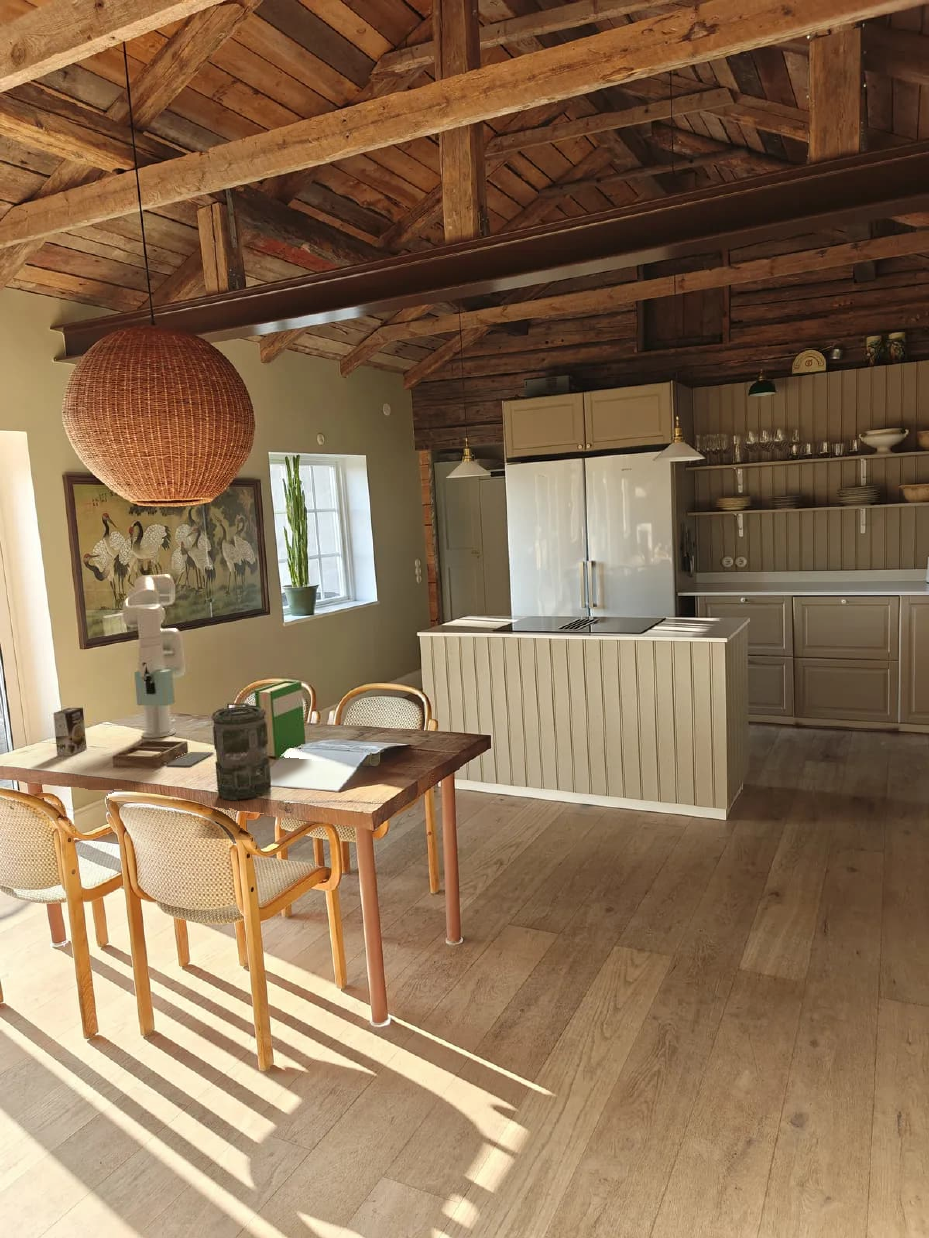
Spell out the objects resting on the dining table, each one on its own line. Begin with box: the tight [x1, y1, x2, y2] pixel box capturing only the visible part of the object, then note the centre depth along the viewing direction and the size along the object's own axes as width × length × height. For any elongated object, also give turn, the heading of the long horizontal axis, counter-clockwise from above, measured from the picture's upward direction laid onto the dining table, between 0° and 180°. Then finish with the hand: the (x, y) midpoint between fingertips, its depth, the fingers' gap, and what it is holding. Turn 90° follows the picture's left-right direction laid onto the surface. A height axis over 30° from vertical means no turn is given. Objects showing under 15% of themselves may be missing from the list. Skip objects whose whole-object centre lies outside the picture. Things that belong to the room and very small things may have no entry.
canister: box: [211, 702, 272, 801], centre depth 263 cm, size 16×16×28 cm
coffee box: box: [52, 707, 87, 757], centre depth 320 cm, size 9×6×16 cm
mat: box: [165, 751, 214, 768], centre depth 304 cm, size 16×9×1 cm, turn 167°
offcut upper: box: [127, 751, 162, 756], centre depth 302 cm, size 6×10×2 cm, turn 70°
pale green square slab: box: [134, 670, 176, 706], centre depth 309 cm, size 4×12×12 cm, turn 78°
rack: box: [111, 740, 189, 770], centre depth 306 cm, size 20×17×4 cm
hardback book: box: [254, 679, 306, 759], centre depth 308 cm, size 18×7×24 cm, turn 157°
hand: (155, 691), depth 309 cm, fingers closed on pale green square slab, 4 cm apart
